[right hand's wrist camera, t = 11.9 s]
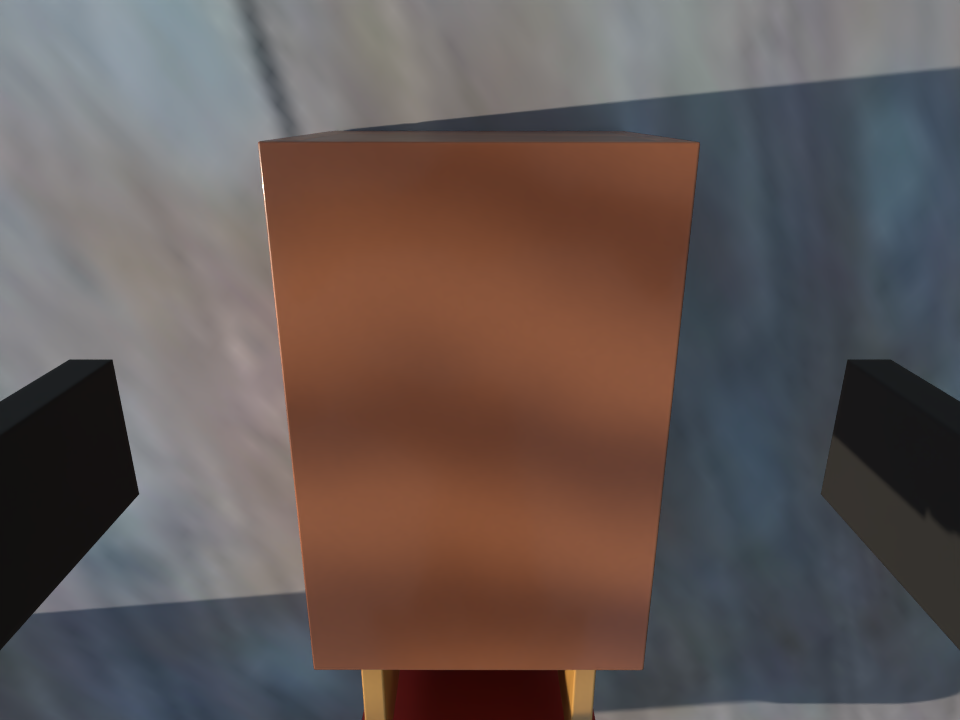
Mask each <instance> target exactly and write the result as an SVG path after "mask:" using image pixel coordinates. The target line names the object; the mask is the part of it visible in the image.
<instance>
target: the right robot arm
mask: <svg viewBox="0 0 960 720" xmlns="http://www.w3.org/2000/svg"><path fill="white" fill-rule="evenodd" d="M138 495H139V491H138V486H137V481H136V476H135V471H134V466H133V461H132V456H131V451H130V446H129V441H128V436H127V431H126V426H125V421H124V416H123V411H122V406H121V400H120V395H119V390H118V385H117V380H116V375H115V370H114V365H113V360H68V361H66V362H65V363H63V364H61V365H60V366H58V367H57V368H55V369H53V370H52V371H50V372H48V373H47V374H45V375H43V376H42V377H40V378H38V379H37V380H35V381H33V382H32V383H30V384H28V385H27V386H25V387H23V388H22V389H20V390H19V391H17V392H15V393H14V394H12V395H10V396H9V397H7V398H5V399H4V400H2V401H0V650H1V649H2V648H3V646H4V645H5V644H6V643H7V642H8V641H9V640H10V639H11V637H12V636H13V635H14V634H15V633H16V632H17V631H18V630H19V629H20V627H21V626H22V625H23V624H24V623H25V622H26V621H27V620H28V618H29V617H30V616H31V615H32V614H33V613H34V612H35V611H36V609H37V608H38V607H39V606H40V605H41V604H42V603H43V602H44V600H45V599H46V598H47V597H48V596H49V595H50V594H51V593H52V591H53V590H54V589H55V588H56V587H57V586H58V585H59V584H60V582H61V581H62V580H63V579H64V578H65V577H66V576H67V575H68V573H69V572H70V571H71V570H72V569H73V568H74V567H75V566H76V564H77V563H78V562H79V561H80V560H81V559H82V558H83V557H84V555H85V554H86V553H87V552H88V551H89V550H90V549H91V548H92V546H93V545H94V544H95V543H96V542H97V541H98V540H99V539H100V537H101V536H102V535H103V534H104V533H105V532H106V531H107V530H108V529H109V527H110V526H111V525H112V524H113V523H114V522H115V521H116V520H117V518H118V517H119V516H120V515H121V514H122V513H123V512H124V511H125V509H126V508H127V507H128V506H129V505H130V504H131V503H132V502H133V500H134V499H135V498H136V497H137V496H138ZM821 495H822V496H823V497H824V498H825V499H826V500H827V502H828V503H829V504H830V505H831V506H832V507H833V508H834V509H835V511H836V512H837V513H838V514H839V515H840V516H841V517H842V518H843V520H844V521H845V522H846V523H847V524H848V525H849V526H850V527H851V529H852V530H853V531H854V532H855V533H856V534H857V535H858V536H859V537H860V539H861V540H862V541H863V542H864V543H865V544H866V545H867V546H868V548H869V549H870V550H871V551H872V552H873V553H874V554H875V555H876V557H877V558H878V559H879V560H880V561H881V562H882V563H883V564H884V566H885V567H886V568H887V569H888V570H889V571H890V572H891V573H892V575H893V576H894V577H895V578H896V579H897V580H898V581H899V582H900V584H901V585H902V586H903V587H904V588H905V589H906V590H907V591H908V593H909V594H910V595H911V596H912V597H913V598H914V599H915V600H916V602H917V603H918V604H919V605H920V606H921V607H922V608H923V609H924V611H925V612H926V613H927V614H928V615H929V616H930V617H931V618H932V620H933V621H934V622H935V623H936V624H937V625H938V626H939V627H940V629H941V630H942V631H943V632H944V633H945V634H946V635H947V636H948V638H949V639H950V640H951V641H952V642H953V643H954V644H955V645H956V646H957V648H958V649H959V650H960V401H958V400H956V399H955V398H953V397H951V396H950V395H948V394H946V393H945V392H943V391H941V390H940V389H938V388H937V387H935V386H933V385H932V384H930V383H928V382H927V381H925V380H923V379H922V378H920V377H918V376H917V375H915V374H913V373H912V372H910V371H908V370H907V369H905V368H903V367H902V366H900V365H899V364H897V363H895V362H894V361H892V360H847V365H846V370H845V375H844V380H843V385H842V390H841V395H840V400H839V406H838V411H837V416H836V421H835V426H834V431H833V436H832V441H831V446H830V451H829V456H828V461H827V466H826V471H825V476H824V481H823V486H822V491H821Z"/></svg>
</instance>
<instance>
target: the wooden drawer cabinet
mask: <svg viewBox="0 0 960 720" xmlns="http://www.w3.org/2000/svg"><path fill="white" fill-rule="evenodd" d="M258 148H259V157H260V166H261V176H262V185H263V195H264V204H265V213H266V223H267V232H268V242H269V251H270V260H271V270H272V279H273V289H274V298H275V307H276V317H277V326H278V336H279V345H280V355H281V364H282V373H283V383H284V392H285V402H286V411H287V420H288V430H289V439H290V449H291V458H292V467H293V477H294V486H295V496H296V505H297V514H298V524H299V533H300V543H301V552H302V562H303V571H304V580H305V590H306V599H307V609H308V618H309V627H310V637H311V646H312V656H313V665H314V669H315V670H643V667H644V658H645V648H646V639H647V630H648V621H649V611H650V602H651V593H652V584H653V574H654V565H655V556H656V547H657V538H658V528H659V519H660V510H661V501H662V491H663V482H664V473H665V464H666V454H667V445H668V436H669V427H670V417H671V408H672V399H673V390H674V380H675V371H676V362H677V353H678V343H679V334H680V325H681V316H682V306H683V297H684V288H685V279H686V269H687V260H688V251H689V242H690V232H691V223H692V214H693V205H694V195H695V186H696V177H697V168H698V158H699V149H700V143H699V142H695V141H688V140H681V139H674V138H668V137H661V136H654V135H647V134H640V133H633V132H625V131H330V132H322V133H315V134H308V135H301V136H294V137H287V138H280V139H273V140H266V141H260V142H258Z"/></svg>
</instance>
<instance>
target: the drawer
mask: <svg viewBox="0 0 960 720" xmlns="http://www.w3.org/2000/svg"><path fill="white" fill-rule="evenodd" d="M361 672H362V686H363V699H364V712H363V717H362V720H595V716H594V710H593V701H594V688H595V675H596V670H361Z"/></svg>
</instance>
